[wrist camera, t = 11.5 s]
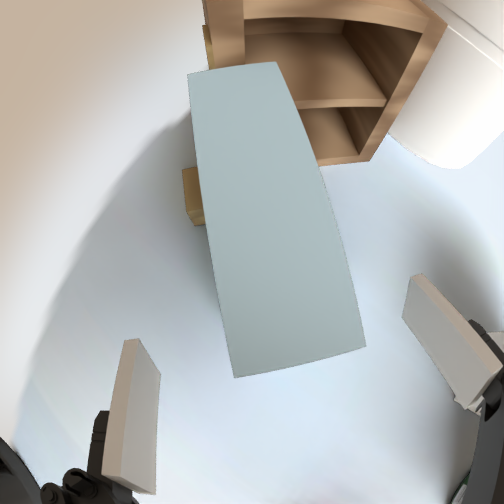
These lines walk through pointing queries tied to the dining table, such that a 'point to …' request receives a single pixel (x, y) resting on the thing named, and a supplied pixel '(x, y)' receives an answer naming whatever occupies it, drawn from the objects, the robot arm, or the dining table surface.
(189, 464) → the dining table surface
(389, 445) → the dining table surface
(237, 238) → the door
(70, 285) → the dining table surface
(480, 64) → the canister
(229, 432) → the dining table surface
